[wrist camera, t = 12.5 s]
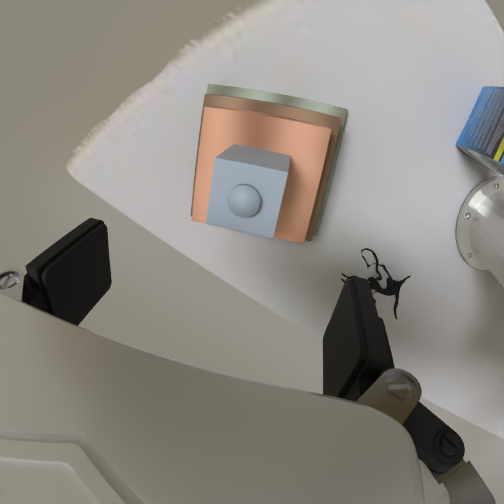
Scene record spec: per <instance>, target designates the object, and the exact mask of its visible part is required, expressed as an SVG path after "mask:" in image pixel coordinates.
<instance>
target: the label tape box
mask: <svg viewBox="0 0 504 504" xmlns="http://www.w3.org/2000/svg"><path fill="white" fill-rule="evenodd" d="M456 146H457V147H459V148H460V149H461V150H462V151H464V152H465V153H466V154H467V155H469V156H470V157H471V158H472V159H474V160H475V161H476V162H478V163H479V164H481V165H484V166H486V167H488V168H490V169H492V170H494V171H496V172H498V173H501V174H503V175H504V87H486V86H485V87H483V89H482V92H481V94H480V96H479V98H478V101H477V103H476V105H475V107H474V109H473V111H472V113H471V115H470V118H469V120H468V122H467V124H466V126H465V128H464V130H463V132H462V134H461V136H460V138H459V140H458V142H457V144H456Z"/></svg>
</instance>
